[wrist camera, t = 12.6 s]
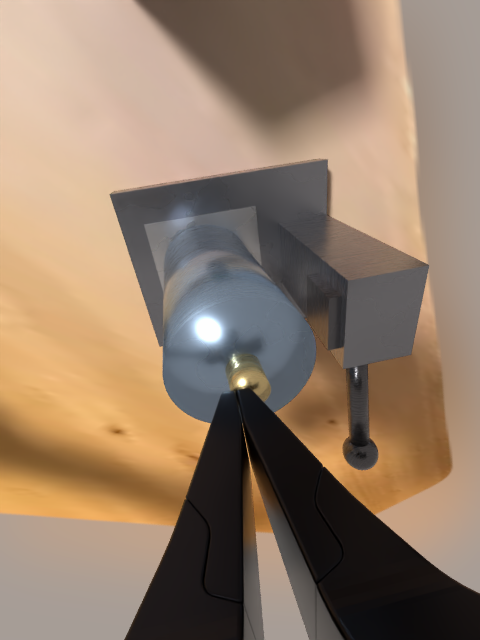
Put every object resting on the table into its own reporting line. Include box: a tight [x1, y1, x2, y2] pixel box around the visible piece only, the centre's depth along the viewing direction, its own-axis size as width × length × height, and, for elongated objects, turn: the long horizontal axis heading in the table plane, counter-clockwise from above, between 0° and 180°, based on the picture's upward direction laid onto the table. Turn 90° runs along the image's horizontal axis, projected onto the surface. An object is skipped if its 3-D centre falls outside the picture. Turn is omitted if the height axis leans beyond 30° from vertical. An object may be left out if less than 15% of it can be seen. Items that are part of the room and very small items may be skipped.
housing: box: [163, 225, 316, 423], centre depth 14 cm, size 5×5×11 cm
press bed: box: [110, 159, 429, 470], centre depth 17 cm, size 12×14×11 cm
